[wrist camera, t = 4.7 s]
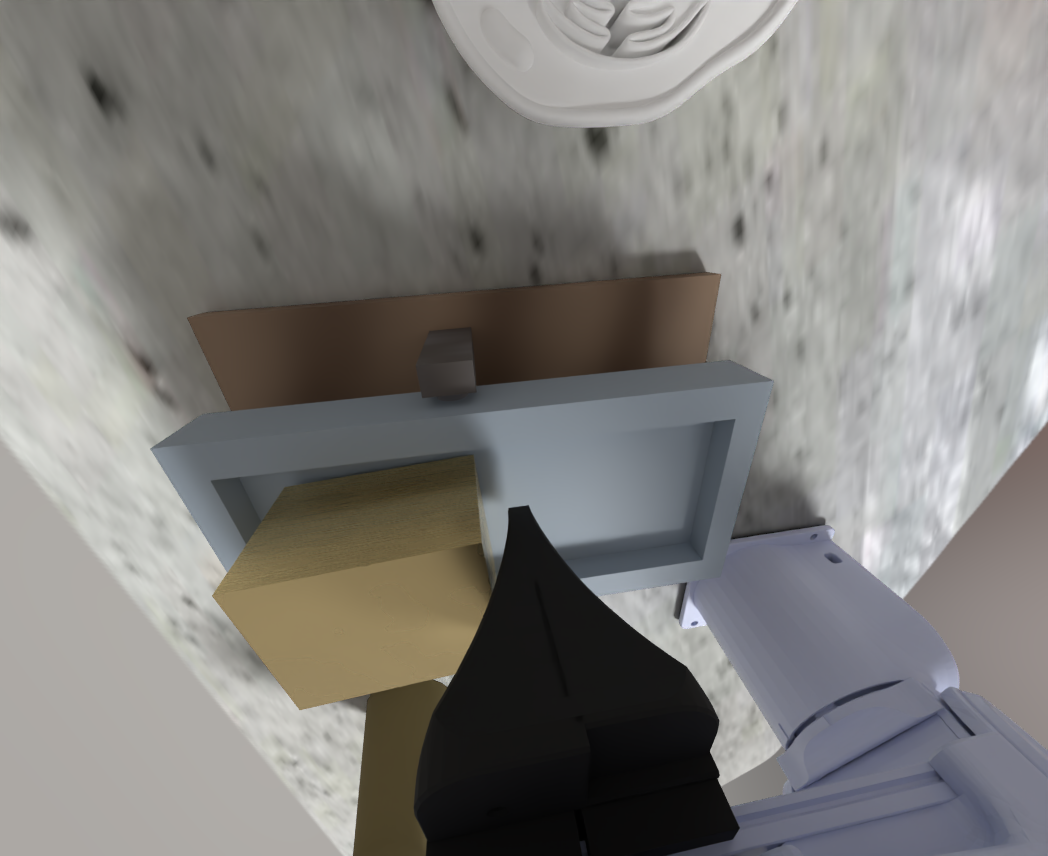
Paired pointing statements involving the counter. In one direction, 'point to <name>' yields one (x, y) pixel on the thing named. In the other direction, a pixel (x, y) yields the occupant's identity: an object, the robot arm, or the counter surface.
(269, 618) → the block
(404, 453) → the beam
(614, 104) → the cell model
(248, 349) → the stand
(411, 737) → the cork
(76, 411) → the counter surface
